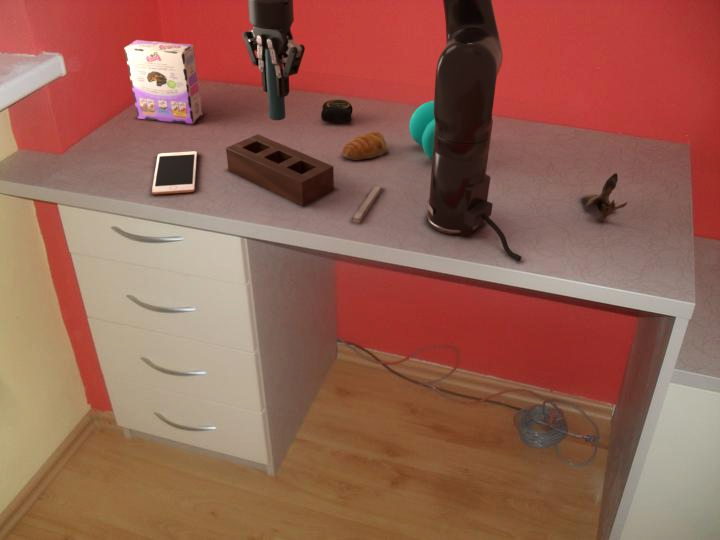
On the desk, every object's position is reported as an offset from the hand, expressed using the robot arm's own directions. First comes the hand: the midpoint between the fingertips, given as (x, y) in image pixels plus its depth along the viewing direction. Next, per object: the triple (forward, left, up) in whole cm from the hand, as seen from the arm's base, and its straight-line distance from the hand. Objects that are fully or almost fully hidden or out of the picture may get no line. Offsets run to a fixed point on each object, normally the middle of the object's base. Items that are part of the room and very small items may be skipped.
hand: (276, 93), depth 127 cm
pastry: (-5, -20, -18) cm, 27 cm away
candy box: (+40, -4, -18) cm, 44 cm away
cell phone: (+17, +12, -18) cm, 27 cm away
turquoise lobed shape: (-16, -30, -18) cm, 38 cm away
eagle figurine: (-52, -31, -18) cm, 63 cm away
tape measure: (+10, -28, -18) cm, 34 cm away
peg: (0, 0, -5) cm, 5 cm away
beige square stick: (-19, -4, -18) cm, 26 cm away
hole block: (0, 0, -18) cm, 18 cm away
